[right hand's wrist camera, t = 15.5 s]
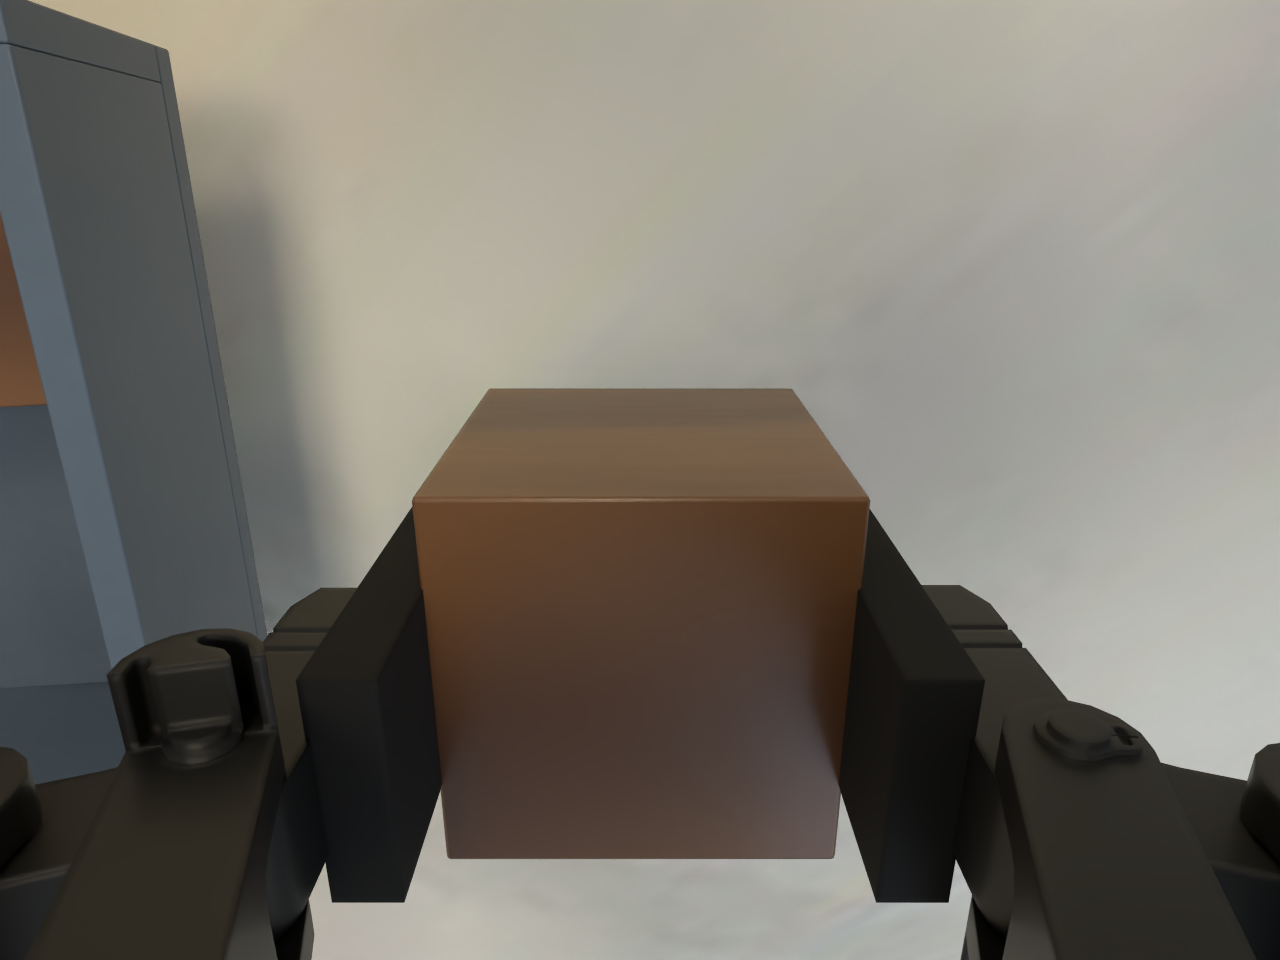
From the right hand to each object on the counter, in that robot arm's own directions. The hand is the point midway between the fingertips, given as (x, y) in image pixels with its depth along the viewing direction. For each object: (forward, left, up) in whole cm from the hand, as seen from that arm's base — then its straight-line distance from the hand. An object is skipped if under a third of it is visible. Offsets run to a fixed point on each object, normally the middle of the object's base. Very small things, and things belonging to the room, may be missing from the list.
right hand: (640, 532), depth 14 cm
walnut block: (0, 0, 0) cm, 0 cm away
